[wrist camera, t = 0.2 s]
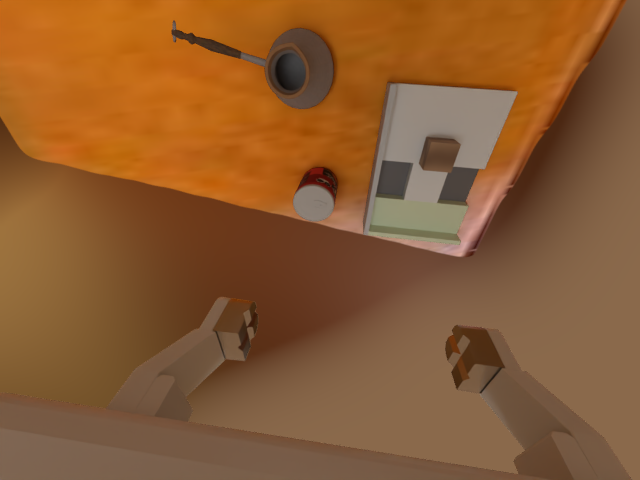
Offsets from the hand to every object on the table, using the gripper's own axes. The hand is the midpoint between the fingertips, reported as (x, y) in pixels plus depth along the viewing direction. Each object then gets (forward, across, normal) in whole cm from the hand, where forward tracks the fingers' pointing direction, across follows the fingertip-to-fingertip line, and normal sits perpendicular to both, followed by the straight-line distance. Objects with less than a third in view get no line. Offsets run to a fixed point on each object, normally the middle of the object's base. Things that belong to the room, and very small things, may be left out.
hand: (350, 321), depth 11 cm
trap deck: (+47, -16, +8) cm, 50 cm away
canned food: (+48, +6, +13) cm, 50 cm away
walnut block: (+45, -16, +4) cm, 48 cm away
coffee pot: (+48, +15, -9) cm, 51 cm away
